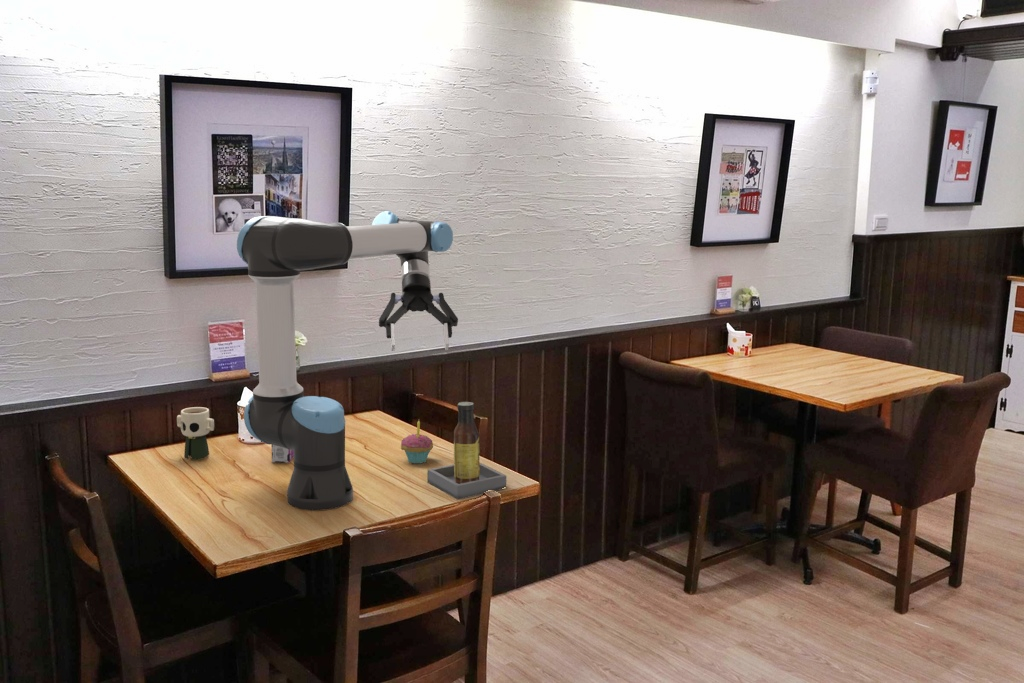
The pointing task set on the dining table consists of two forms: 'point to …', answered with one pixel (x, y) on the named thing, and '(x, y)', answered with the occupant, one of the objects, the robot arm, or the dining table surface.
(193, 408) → the character mug
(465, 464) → the sauce bottle
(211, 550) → the dining table surface
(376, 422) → the dining table surface
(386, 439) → the dining table surface
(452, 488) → the tray
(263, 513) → the dining table surface
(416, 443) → the cupcake
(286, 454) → the candy bar box
